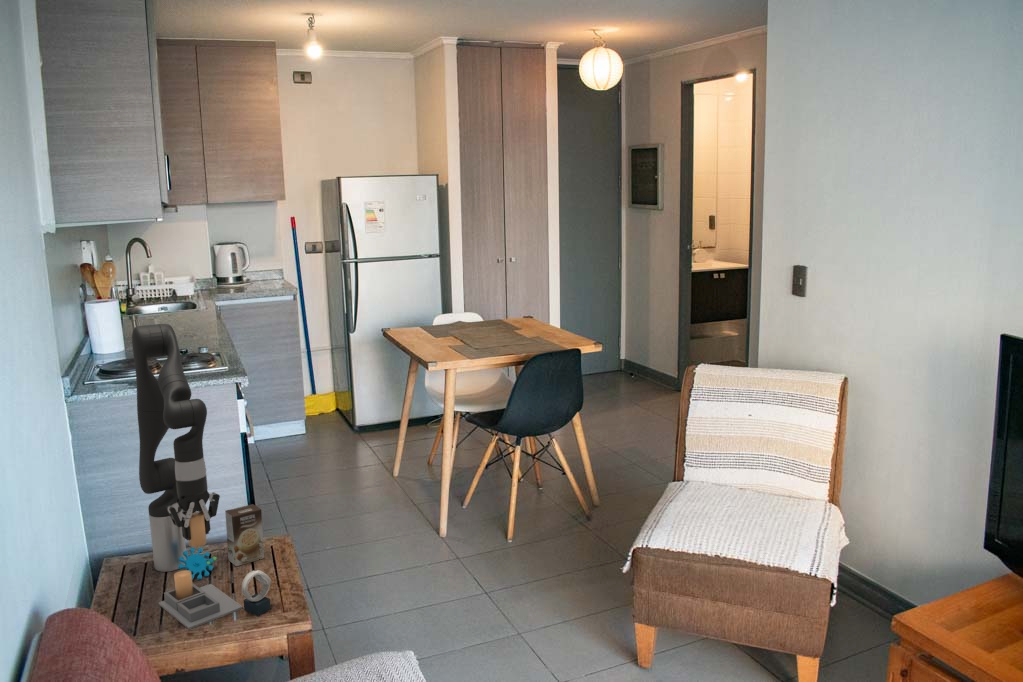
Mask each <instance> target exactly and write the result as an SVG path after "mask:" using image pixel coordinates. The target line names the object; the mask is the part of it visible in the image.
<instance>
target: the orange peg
mask: <svg viewBox="0 0 1023 682" xmlns="http://www.w3.org/2000/svg"><path fill="white" fill-rule="evenodd" d="M189 527H190V535H191V540H188V546H189V548H199V547H200V548H201V547H203V546H205V545H206V544H207V543H208V542H207V534H206V531H205V520H204V514H202V513H200V512H195V513H192V516H191V519H190V521H189Z"/></svg>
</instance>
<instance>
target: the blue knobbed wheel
mask: <svg viewBox="0 0 1023 682" xmlns="http://www.w3.org/2000/svg"><path fill="white" fill-rule="evenodd" d="M195 551H196V547H190V549H189V551H188V550H186V551H184V552H183V555H184V556H185V557H186V559H187V560H184V558H183V557H182V556H181V557H180V558H179V561H180V562H183V563H185V564H186V565H185V566H184V565H183V564H179V569H178V570H181V569H184V570H185V569H186V570H189V571H191V575H192V580H194V578H195V575H196V574H198V575H197V576H196V579H197V581H199V580H200V581H201V580H202V579H203V576H204V577H205V578H206V577H208V576H210V572H211V571H212V570H213V569H214V566H213V564H214V563H215V562H216V560H217V557H216V556H212V558H209V557H210V551H206V552H205V553H204V554H202V553H203V551H204V549H203V548H202V547H200V548H199V547H198V550H197V552H196V553H194V552H195ZM189 552H190V555H188V554H189ZM207 569H208V570H207ZM202 572H204V574H203V576H202Z"/></svg>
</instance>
